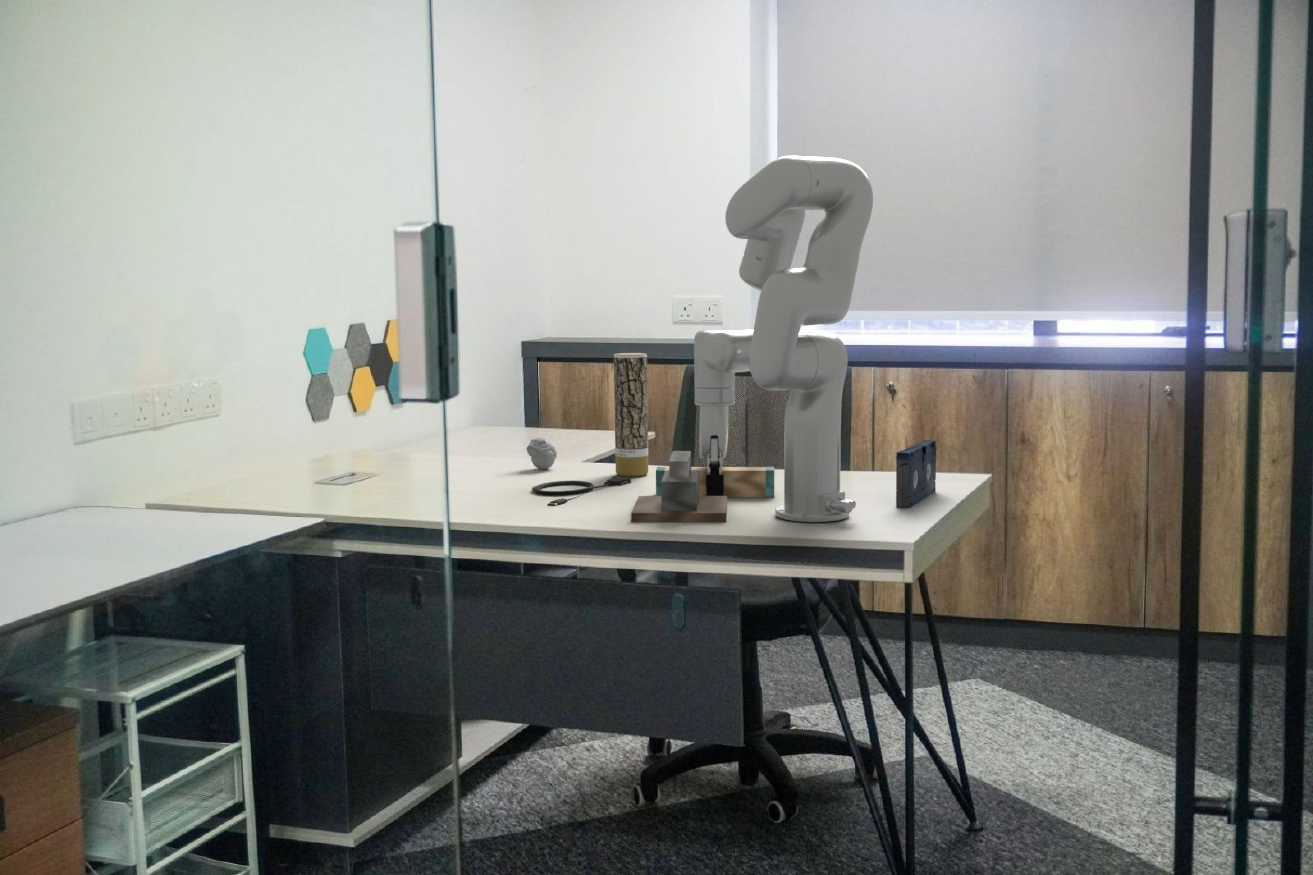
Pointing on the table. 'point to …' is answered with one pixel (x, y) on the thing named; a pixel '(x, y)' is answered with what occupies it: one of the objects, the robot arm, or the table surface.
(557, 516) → the table surface
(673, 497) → the fulcrum stand
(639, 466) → the bark log
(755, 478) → the oak beam
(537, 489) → the cable
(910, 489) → the vhs cassette tape
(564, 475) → the table surface
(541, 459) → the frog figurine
